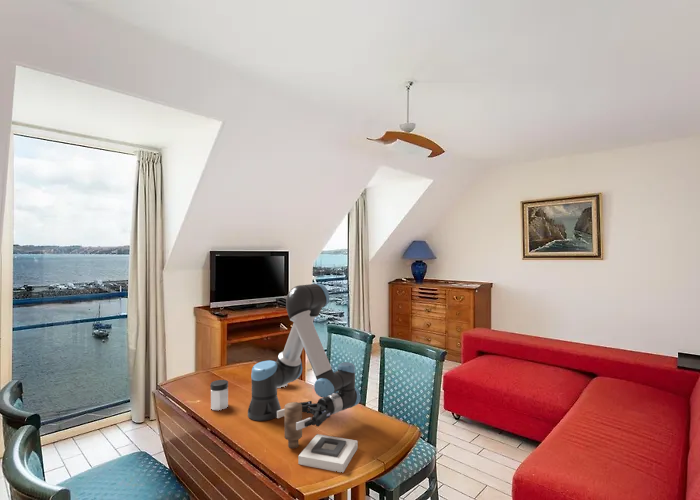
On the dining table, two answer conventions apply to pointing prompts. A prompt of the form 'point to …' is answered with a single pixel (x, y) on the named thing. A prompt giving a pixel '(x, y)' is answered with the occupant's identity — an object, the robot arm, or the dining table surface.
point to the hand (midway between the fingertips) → (286, 420)
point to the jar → (219, 394)
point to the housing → (328, 453)
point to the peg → (293, 423)
